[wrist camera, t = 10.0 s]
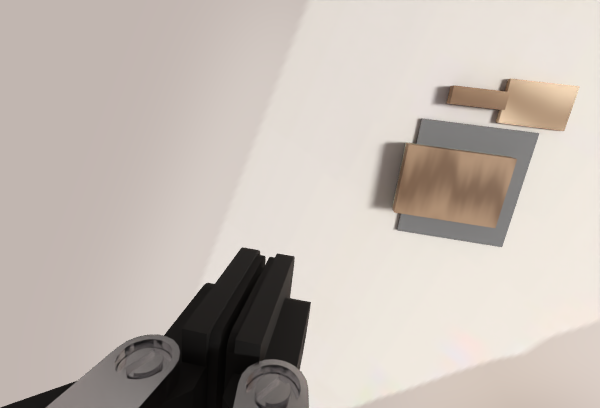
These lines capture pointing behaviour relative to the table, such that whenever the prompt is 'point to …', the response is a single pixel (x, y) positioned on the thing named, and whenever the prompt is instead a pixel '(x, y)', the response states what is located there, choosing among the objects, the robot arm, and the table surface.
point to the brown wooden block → (452, 184)
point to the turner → (522, 102)
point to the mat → (484, 142)
